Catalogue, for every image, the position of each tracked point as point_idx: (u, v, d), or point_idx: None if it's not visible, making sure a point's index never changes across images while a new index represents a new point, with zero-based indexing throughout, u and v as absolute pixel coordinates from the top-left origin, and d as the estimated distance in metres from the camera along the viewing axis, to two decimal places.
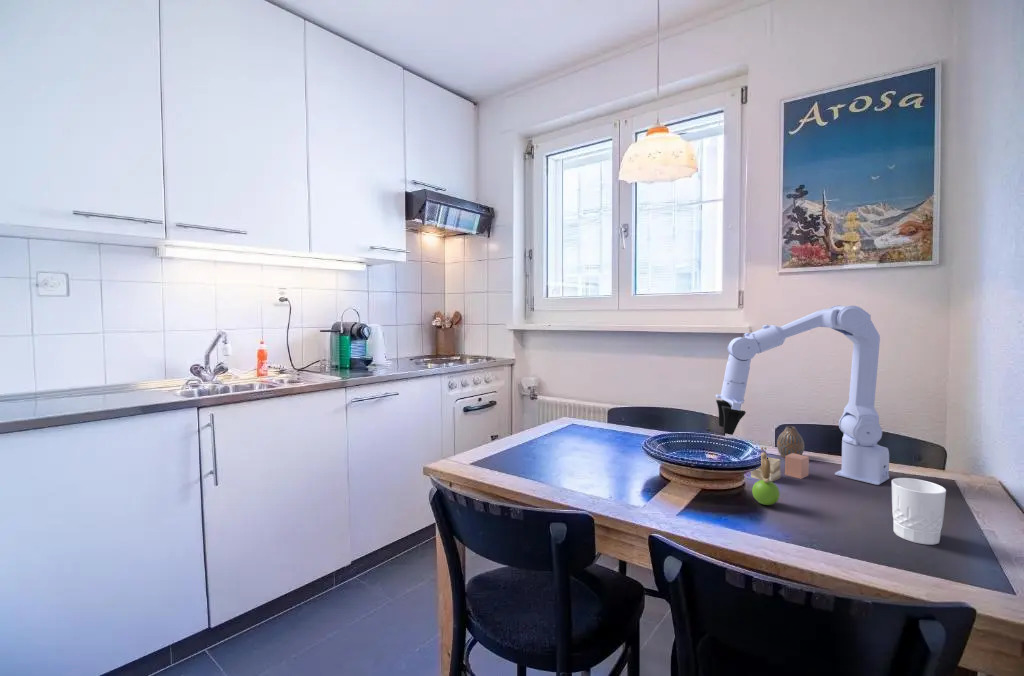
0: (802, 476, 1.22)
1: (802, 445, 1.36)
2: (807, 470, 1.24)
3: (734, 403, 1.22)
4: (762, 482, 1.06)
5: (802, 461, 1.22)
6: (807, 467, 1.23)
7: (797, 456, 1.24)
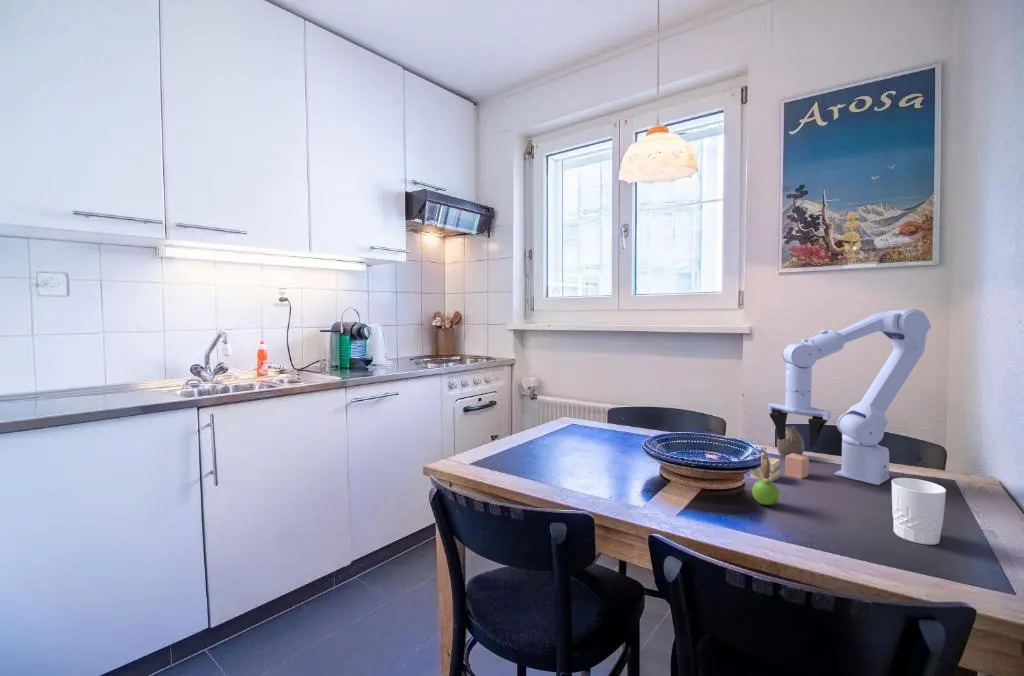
0: (802, 476, 1.22)
1: (802, 445, 1.36)
2: (807, 470, 1.24)
3: (828, 413, 1.17)
4: (762, 482, 1.06)
5: (802, 461, 1.22)
6: (807, 467, 1.23)
7: (797, 456, 1.24)
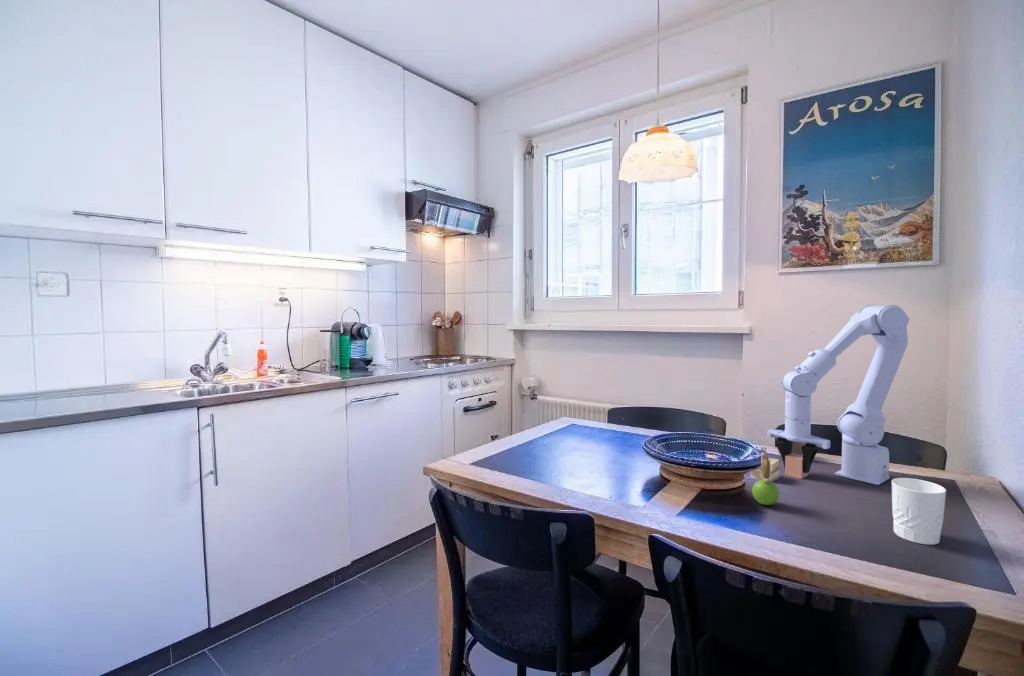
0: (802, 476, 1.22)
1: (802, 445, 1.36)
2: None
3: (827, 442, 1.17)
4: (762, 482, 1.06)
5: (802, 461, 1.22)
6: None
7: (797, 456, 1.24)
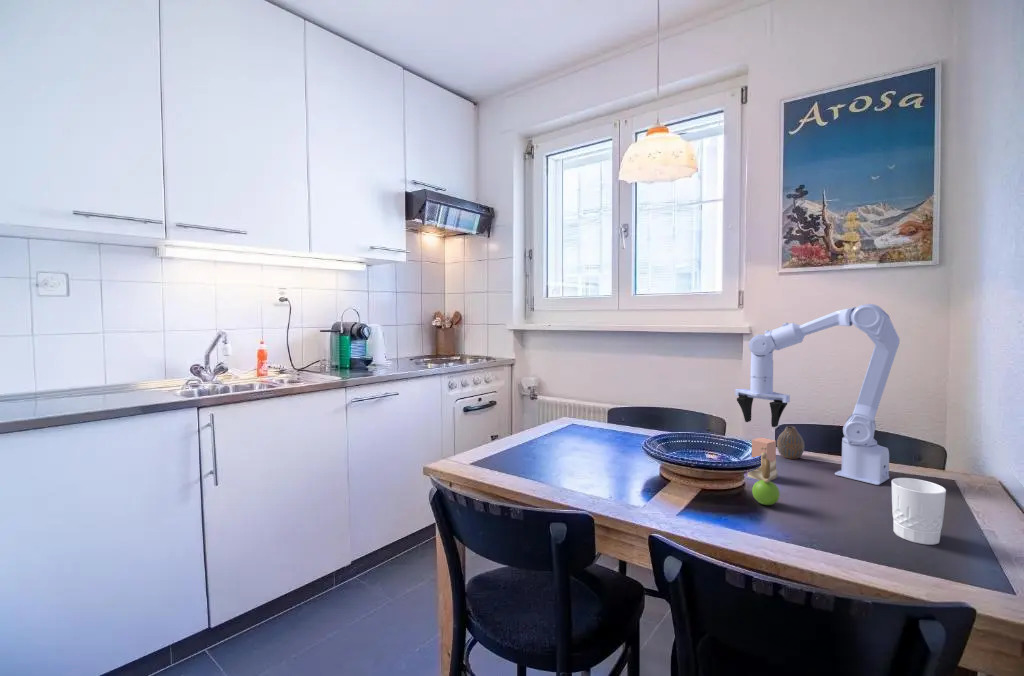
0: None
1: (802, 445, 1.36)
2: (774, 454, 1.22)
3: (786, 397, 1.30)
4: (762, 482, 1.06)
5: (768, 445, 1.20)
6: (774, 451, 1.22)
7: (764, 440, 1.22)
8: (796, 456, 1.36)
